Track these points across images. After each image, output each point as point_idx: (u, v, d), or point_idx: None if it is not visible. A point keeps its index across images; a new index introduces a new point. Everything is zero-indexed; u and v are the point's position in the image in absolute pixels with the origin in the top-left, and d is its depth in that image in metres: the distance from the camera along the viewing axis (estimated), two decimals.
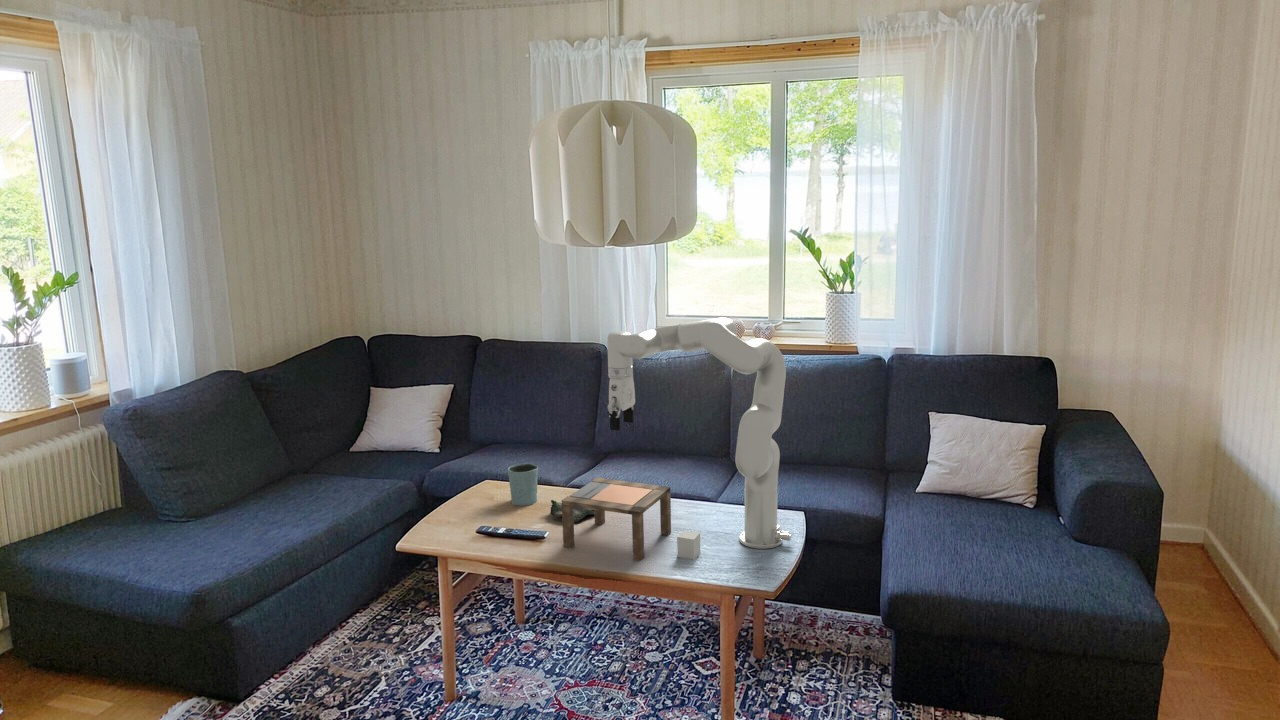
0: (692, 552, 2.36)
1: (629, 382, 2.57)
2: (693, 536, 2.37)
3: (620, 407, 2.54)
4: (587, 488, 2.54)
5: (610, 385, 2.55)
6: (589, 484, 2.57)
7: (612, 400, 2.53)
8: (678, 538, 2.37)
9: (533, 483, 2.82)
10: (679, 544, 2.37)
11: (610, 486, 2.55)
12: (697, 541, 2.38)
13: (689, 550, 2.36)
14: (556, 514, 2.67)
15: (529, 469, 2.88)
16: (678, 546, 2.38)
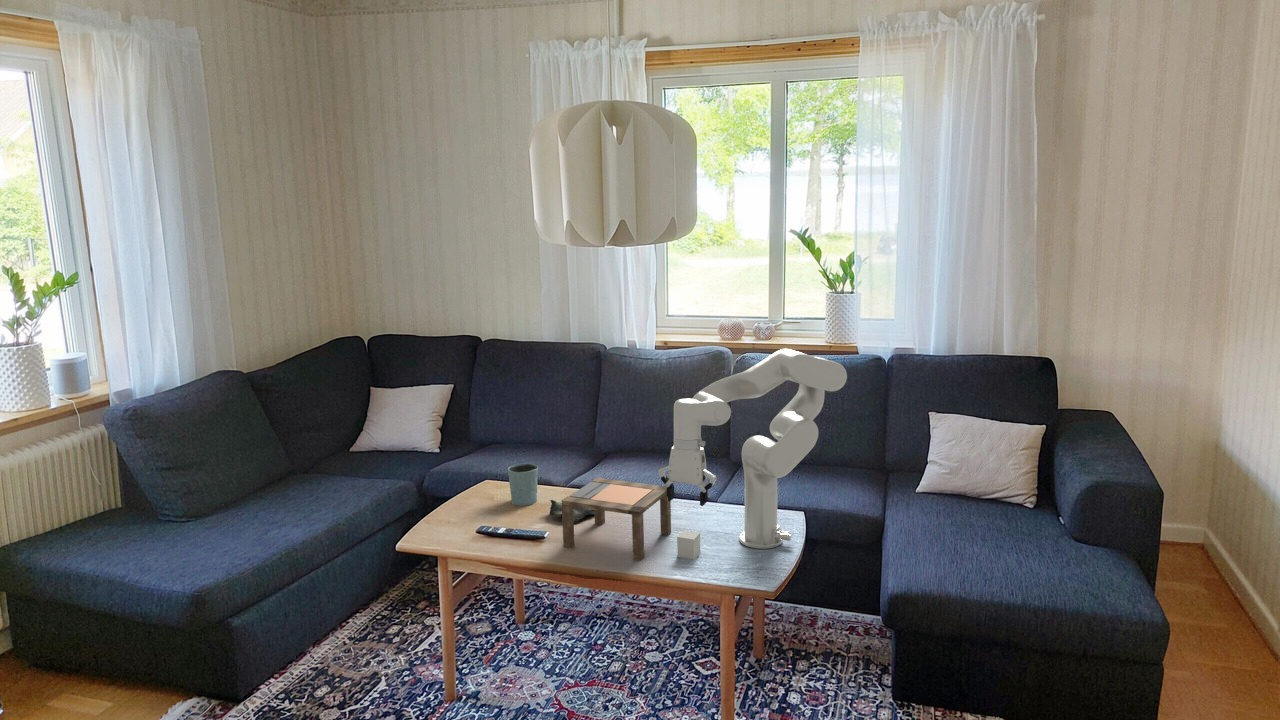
0: (692, 552, 2.36)
1: None
2: (693, 536, 2.37)
3: (706, 477, 2.35)
4: (587, 488, 2.54)
5: (700, 458, 2.31)
6: (589, 484, 2.57)
7: (708, 472, 2.32)
8: (678, 538, 2.37)
9: (533, 483, 2.82)
10: (679, 544, 2.37)
11: (610, 486, 2.55)
12: (697, 541, 2.38)
13: (689, 550, 2.36)
14: (556, 514, 2.67)
15: (529, 469, 2.88)
16: (678, 546, 2.38)
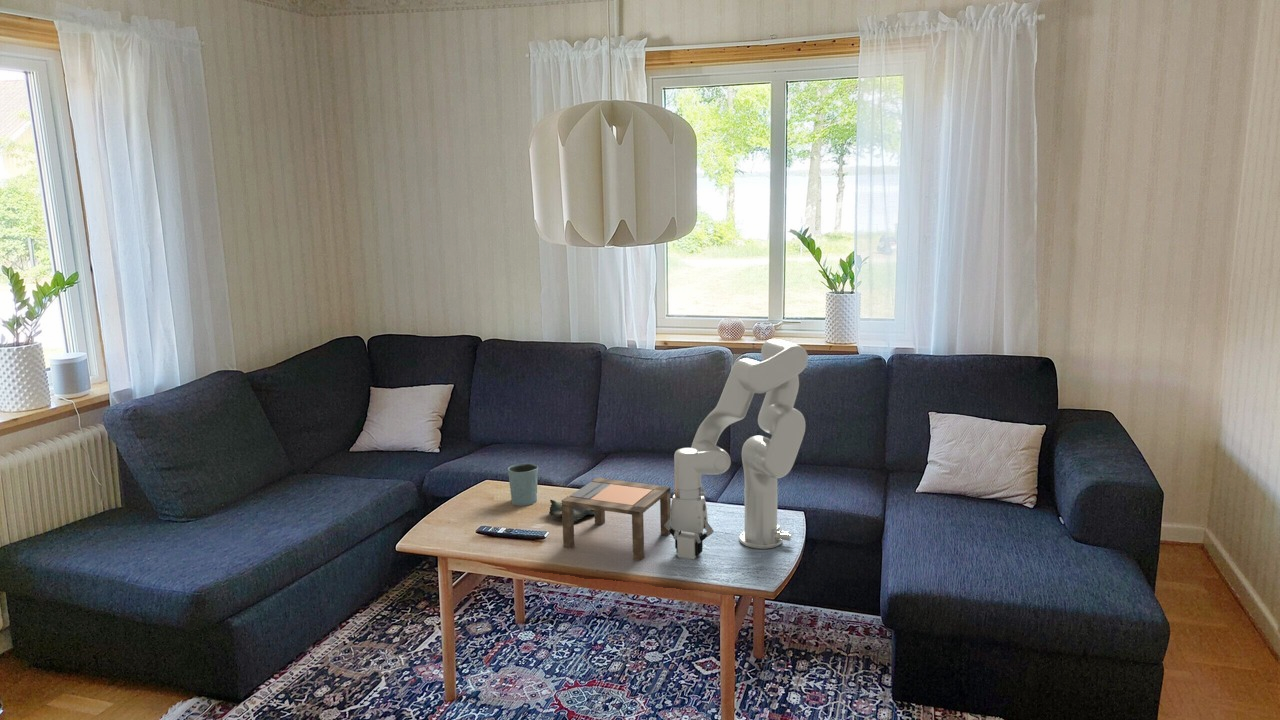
0: (692, 552, 2.36)
1: None
2: (693, 536, 2.37)
3: None
4: (587, 488, 2.54)
5: (701, 507, 2.34)
6: (589, 484, 2.57)
7: (709, 526, 2.35)
8: (678, 537, 2.37)
9: (533, 483, 2.82)
10: (679, 544, 2.37)
11: (610, 486, 2.55)
12: None
13: (689, 550, 2.36)
14: (555, 514, 2.67)
15: (529, 469, 2.88)
16: (678, 546, 2.38)
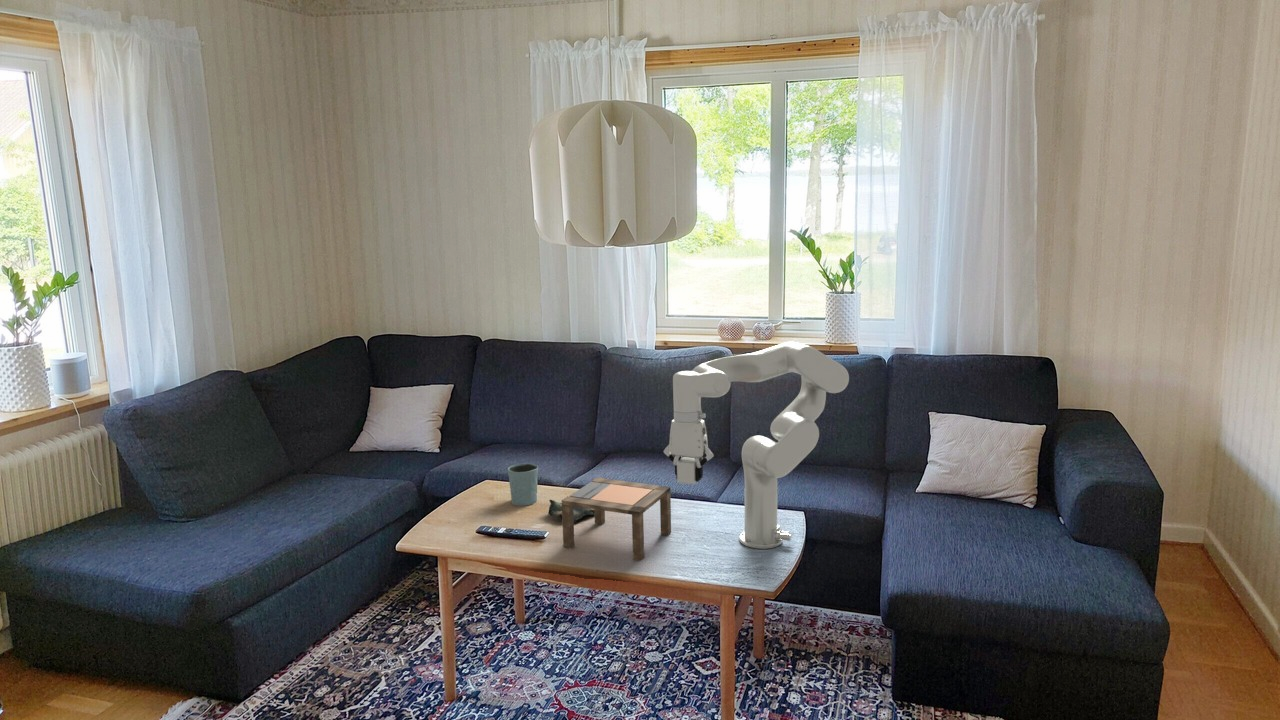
0: (692, 477, 2.32)
1: None
2: (692, 461, 2.33)
3: None
4: (587, 488, 2.54)
5: (701, 430, 2.30)
6: (589, 484, 2.57)
7: (709, 450, 2.31)
8: (677, 463, 2.33)
9: (533, 483, 2.82)
10: (679, 469, 2.33)
11: (610, 486, 2.55)
12: None
13: (689, 475, 2.32)
14: (554, 514, 2.67)
15: (529, 469, 2.88)
16: (678, 471, 2.34)
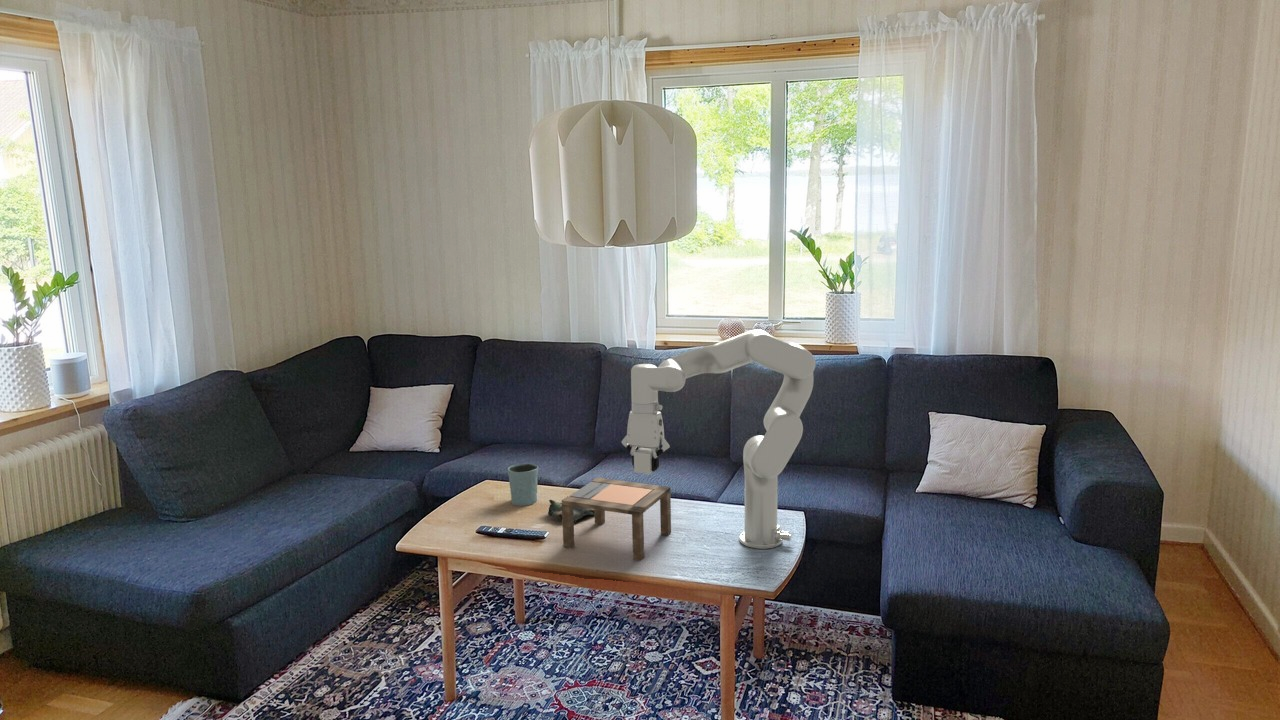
0: (648, 467, 2.39)
1: None
2: (649, 451, 2.40)
3: None
4: (587, 488, 2.54)
5: (657, 421, 2.36)
6: (589, 484, 2.57)
7: (665, 441, 2.38)
8: (634, 453, 2.40)
9: (533, 483, 2.82)
10: (636, 459, 2.40)
11: (610, 486, 2.55)
12: None
13: (645, 465, 2.39)
14: (554, 514, 2.67)
15: (529, 469, 2.88)
16: (635, 461, 2.40)
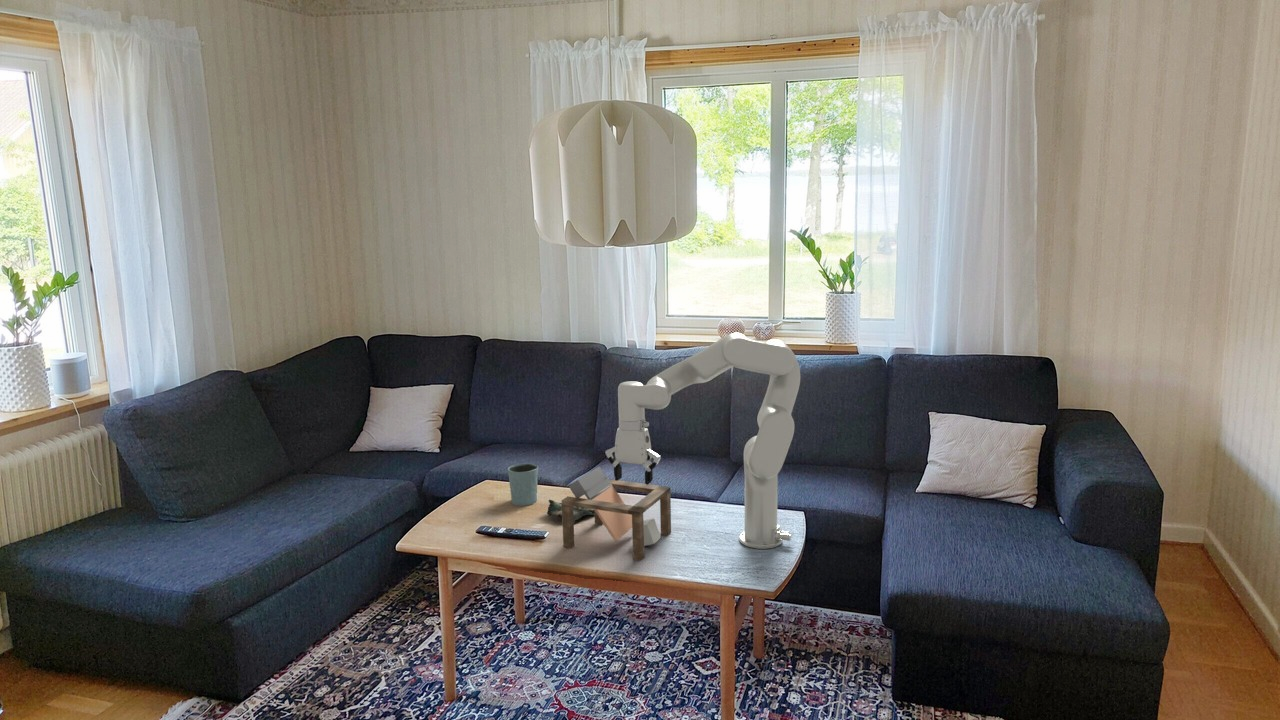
0: None
1: None
2: None
3: (651, 456, 2.44)
4: (593, 477, 2.52)
5: (644, 438, 2.40)
6: (596, 470, 2.55)
7: (652, 451, 2.41)
8: (652, 543, 2.44)
9: (533, 483, 2.82)
10: (649, 537, 2.44)
11: (610, 489, 2.55)
12: None
13: None
14: (553, 514, 2.67)
15: (529, 469, 2.88)
16: (649, 534, 2.44)
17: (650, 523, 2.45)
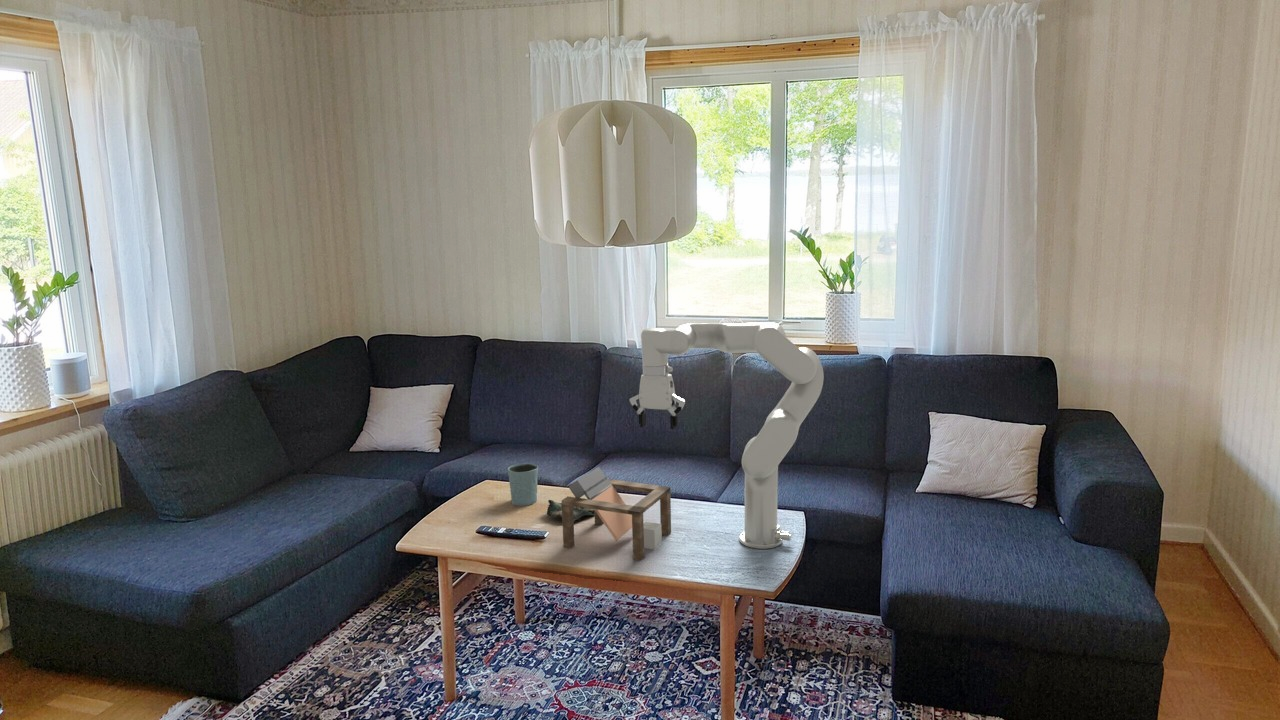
0: None
1: None
2: None
3: (675, 402, 2.47)
4: (593, 477, 2.52)
5: (668, 383, 2.43)
6: (596, 471, 2.55)
7: (676, 396, 2.44)
8: (654, 548, 2.44)
9: (533, 483, 2.82)
10: (652, 542, 2.44)
11: (610, 489, 2.55)
12: None
13: None
14: (553, 514, 2.67)
15: (529, 469, 2.88)
16: (653, 540, 2.43)
17: (657, 529, 2.44)
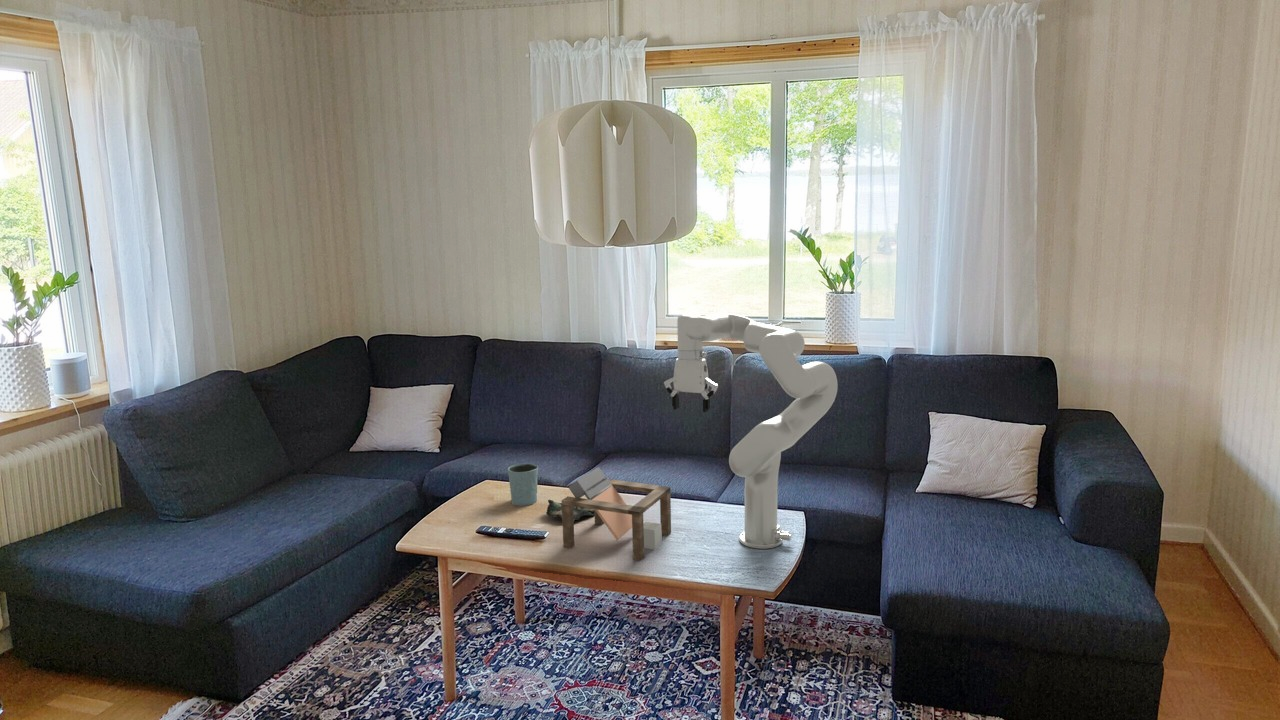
0: None
1: None
2: None
3: (708, 386, 2.55)
4: (593, 477, 2.52)
5: (702, 367, 2.51)
6: (596, 471, 2.55)
7: (709, 380, 2.52)
8: (654, 548, 2.44)
9: (533, 483, 2.82)
10: (652, 542, 2.44)
11: (610, 489, 2.55)
12: None
13: None
14: (552, 514, 2.67)
15: (529, 469, 2.88)
16: (653, 540, 2.43)
17: (657, 529, 2.44)
